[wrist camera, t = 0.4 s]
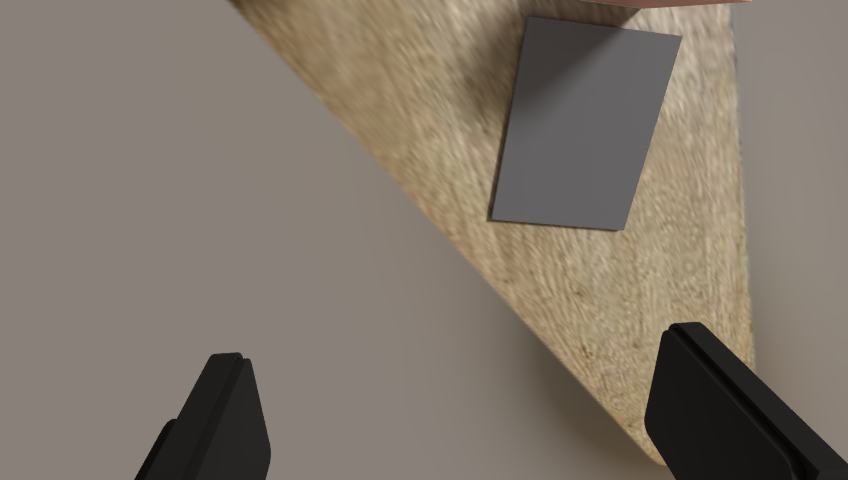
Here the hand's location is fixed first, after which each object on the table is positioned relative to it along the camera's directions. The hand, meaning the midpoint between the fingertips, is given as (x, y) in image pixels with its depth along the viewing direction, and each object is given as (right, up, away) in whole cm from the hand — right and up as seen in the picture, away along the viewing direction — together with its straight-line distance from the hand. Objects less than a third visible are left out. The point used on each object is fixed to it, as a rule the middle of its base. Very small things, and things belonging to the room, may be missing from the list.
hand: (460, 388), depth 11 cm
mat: (+12, +12, +28) cm, 33 cm away
